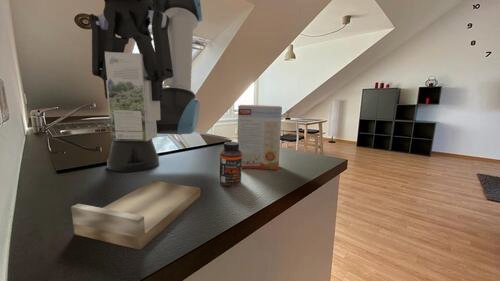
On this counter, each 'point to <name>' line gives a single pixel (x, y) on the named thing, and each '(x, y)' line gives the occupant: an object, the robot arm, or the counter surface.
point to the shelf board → (134, 214)
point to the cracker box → (259, 136)
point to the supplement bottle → (230, 164)
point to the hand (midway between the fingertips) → (135, 118)
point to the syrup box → (128, 97)
